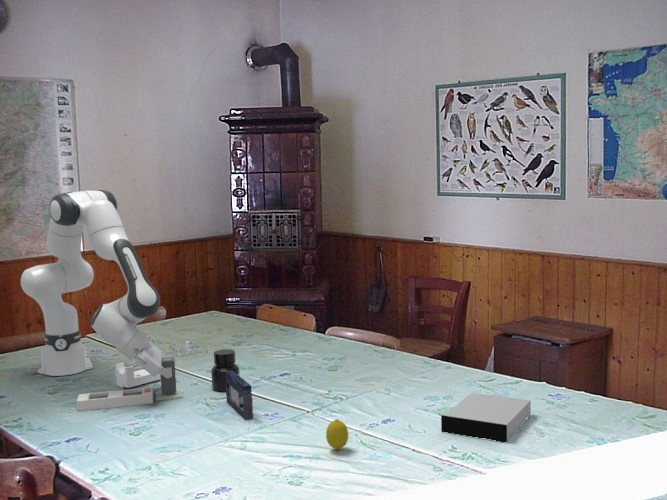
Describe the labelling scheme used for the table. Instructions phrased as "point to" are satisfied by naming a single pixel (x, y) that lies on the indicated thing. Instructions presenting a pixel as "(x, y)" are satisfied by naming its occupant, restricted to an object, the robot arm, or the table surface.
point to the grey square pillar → (170, 383)
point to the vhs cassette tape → (239, 395)
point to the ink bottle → (223, 368)
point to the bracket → (133, 376)
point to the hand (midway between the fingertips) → (169, 373)
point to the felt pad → (169, 395)
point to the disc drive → (486, 416)
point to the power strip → (115, 399)
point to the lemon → (337, 434)
